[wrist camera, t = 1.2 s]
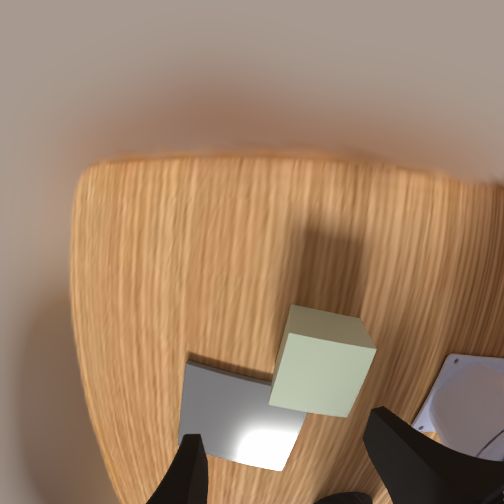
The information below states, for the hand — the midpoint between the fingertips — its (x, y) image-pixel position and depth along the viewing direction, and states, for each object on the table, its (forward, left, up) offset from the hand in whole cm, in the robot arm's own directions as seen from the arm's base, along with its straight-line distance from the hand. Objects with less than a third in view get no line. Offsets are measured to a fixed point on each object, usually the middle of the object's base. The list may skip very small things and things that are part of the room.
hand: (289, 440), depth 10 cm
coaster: (+2, +9, -10) cm, 14 cm away
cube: (-2, 0, -10) cm, 10 cm away
